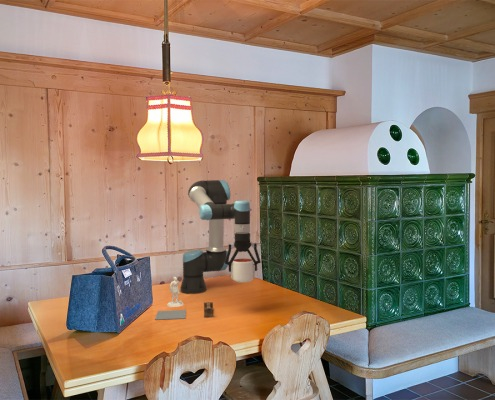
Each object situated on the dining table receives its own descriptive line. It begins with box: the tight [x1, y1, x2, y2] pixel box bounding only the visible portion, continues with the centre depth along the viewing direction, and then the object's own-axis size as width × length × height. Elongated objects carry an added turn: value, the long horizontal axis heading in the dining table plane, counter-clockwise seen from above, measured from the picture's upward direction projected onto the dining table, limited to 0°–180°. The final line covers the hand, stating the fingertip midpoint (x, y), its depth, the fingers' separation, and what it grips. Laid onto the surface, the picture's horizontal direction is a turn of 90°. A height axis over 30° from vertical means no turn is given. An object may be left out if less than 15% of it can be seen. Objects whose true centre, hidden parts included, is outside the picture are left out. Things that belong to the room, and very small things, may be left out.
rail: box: [203, 301, 215, 318], centre depth 232 cm, size 12×4×4 cm, turn 6°
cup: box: [232, 258, 254, 283], centre depth 233 cm, size 10×10×10 cm
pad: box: [154, 309, 187, 321], centre depth 230 cm, size 14×14×1 cm
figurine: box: [166, 276, 184, 308], centre depth 249 cm, size 9×9×15 cm
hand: (242, 277), depth 233 cm, fingers closed on cup, 10 cm apart
